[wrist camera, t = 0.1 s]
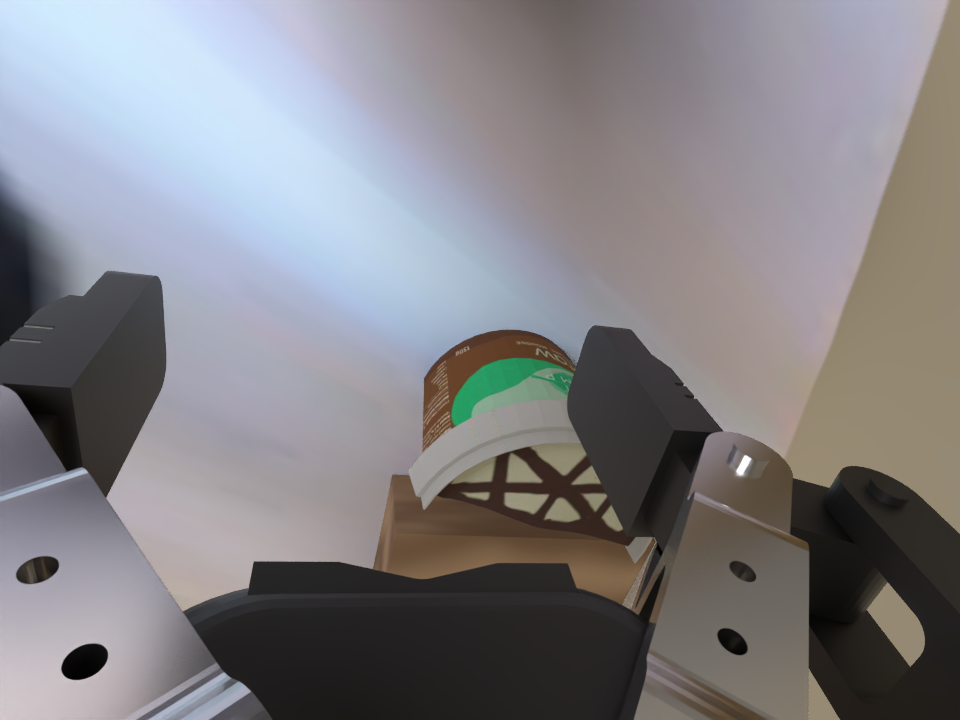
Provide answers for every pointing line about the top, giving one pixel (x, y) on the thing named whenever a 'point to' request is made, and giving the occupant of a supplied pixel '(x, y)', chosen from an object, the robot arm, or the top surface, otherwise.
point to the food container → (511, 438)
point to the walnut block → (491, 543)
